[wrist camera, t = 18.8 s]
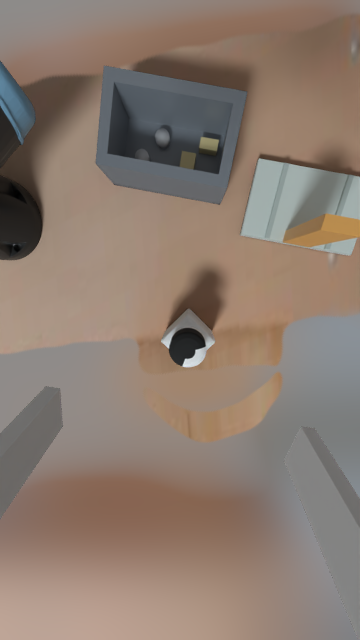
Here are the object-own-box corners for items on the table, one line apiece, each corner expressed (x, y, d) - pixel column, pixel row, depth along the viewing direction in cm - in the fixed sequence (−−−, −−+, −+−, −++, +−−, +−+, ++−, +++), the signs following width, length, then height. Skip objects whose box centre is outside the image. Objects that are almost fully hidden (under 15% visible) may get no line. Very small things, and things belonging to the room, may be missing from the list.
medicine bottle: (165, 330, 46) (155, 350, 34) (188, 307, 44) (187, 320, 33) (188, 353, 46) (187, 380, 35) (212, 331, 45) (219, 352, 33)
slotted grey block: (239, 235, 41) (261, 218, 28) (256, 162, 38) (290, 105, 25) (344, 255, 41) (418, 248, 27) (369, 183, 38) (466, 136, 25)
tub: (114, 184, 40) (95, 163, 32) (122, 108, 37) (103, 65, 29) (219, 204, 40) (226, 188, 32) (235, 129, 37) (247, 91, 29)
